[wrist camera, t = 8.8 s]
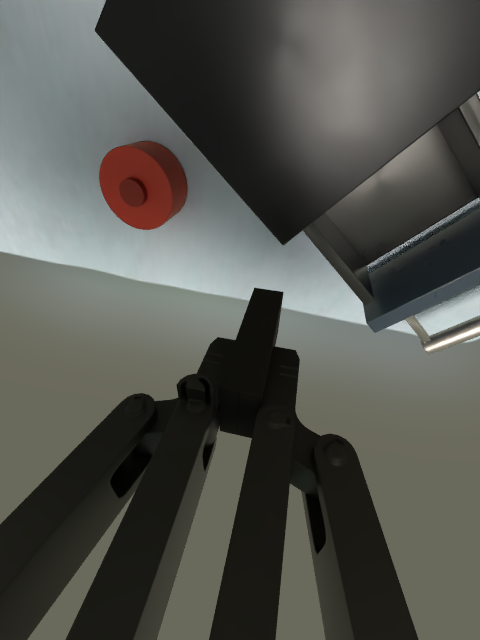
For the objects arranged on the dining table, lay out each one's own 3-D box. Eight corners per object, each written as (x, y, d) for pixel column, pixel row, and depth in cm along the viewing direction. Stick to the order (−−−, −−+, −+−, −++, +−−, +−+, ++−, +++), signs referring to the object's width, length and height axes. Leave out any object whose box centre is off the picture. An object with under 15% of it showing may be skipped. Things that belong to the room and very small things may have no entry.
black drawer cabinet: (450, 72, 18) (522, 57, 12) (293, 207, 25) (283, 246, 19) (309, -207, 14) (294, -486, 7) (166, 52, 21) (93, 30, 14)
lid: (111, 187, 28) (84, 198, 25) (136, 122, 24) (108, 125, 21) (168, 231, 30) (149, 247, 26) (200, 176, 26) (182, 188, 22)
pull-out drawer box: (542, 266, 23) (606, 317, 18) (399, 330, 29) (415, 381, 24) (417, 27, 17) (459, -5, 12) (272, 173, 23) (256, 194, 18)
